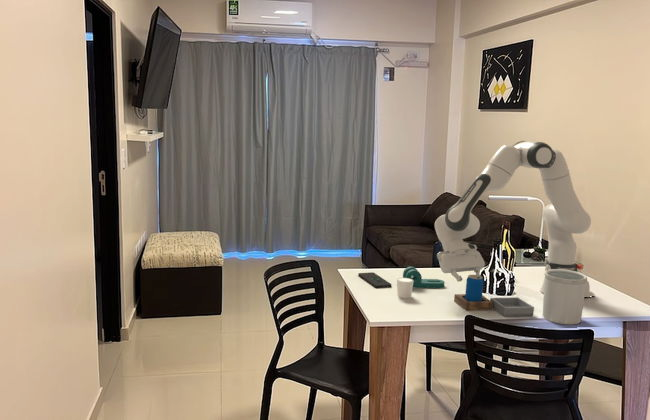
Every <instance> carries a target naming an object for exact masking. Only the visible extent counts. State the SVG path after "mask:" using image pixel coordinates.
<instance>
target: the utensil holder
mask: <svg viewBox="0 0 650 420" xmlns="http://www.w3.org/2000/svg"><path fill="white" fill-rule="evenodd" d="M544 278H545V285H544V293H543V301H542V302H543V303H542V317H543V316H544V317H543V318H544V319H545V320H547V321H549V322H551V323H556V324H560V325H577V324H579V323H581V321H582V317H583V316H582V315H583V309H584V300H585V298H584V295H585V286H586V281H587V280H588V276H587V274H584V273H582V272H579V271H578V272H576V271H571V270H564V269H550V270H546V271H544Z"/></svg>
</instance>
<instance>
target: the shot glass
mask: <svg viewBox="0 0 650 420" xmlns="http://www.w3.org/2000/svg"><path fill="white" fill-rule="evenodd" d="M413 282H414V280H412V279H410V278H403V277H398V278H396V290H397V293H396V294H397V295H396V296H397V297H399V298H401V299H402V298H403V299H410V298H411V297H412V293H413Z"/></svg>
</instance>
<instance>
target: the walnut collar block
mask: <svg viewBox="0 0 650 420" xmlns="http://www.w3.org/2000/svg"><path fill="white" fill-rule="evenodd" d="M465 294H466V293H457V294H456V293H455V294H454V295H453V297H454V298H453V302H454V303H455V304H457V305H458V306H459V307H460V308H461V309H463V310H464V311H470V312H471V311H493V310H494V309H493V302H492V301H490V299H489V298H487V297H485V296H484V295H483V294H482V301H476V302H469V301H467V300H466V299H465Z"/></svg>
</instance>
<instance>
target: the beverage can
mask: <svg viewBox="0 0 650 420" xmlns="http://www.w3.org/2000/svg"><path fill="white" fill-rule="evenodd" d="M483 289H484V279H483V276H481V275H480V276H479V275H476V274H468V276H467V278H466V285H465V293H464V294H465V299H466V300H467V301H469V302H476V301H482V295H483V292H484V291H483Z"/></svg>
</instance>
